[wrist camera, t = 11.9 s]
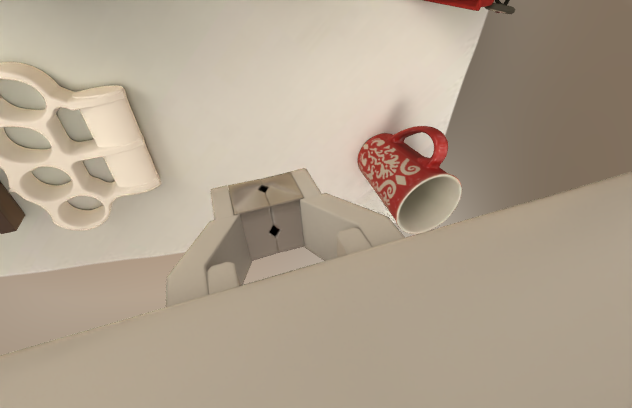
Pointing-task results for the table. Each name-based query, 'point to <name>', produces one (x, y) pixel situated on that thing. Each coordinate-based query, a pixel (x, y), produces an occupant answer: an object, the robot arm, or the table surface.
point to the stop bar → (9, 212)
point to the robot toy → (478, 5)
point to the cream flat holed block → (74, 148)
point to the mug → (411, 179)
